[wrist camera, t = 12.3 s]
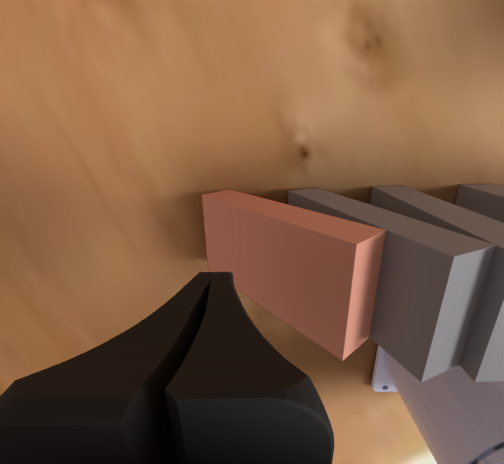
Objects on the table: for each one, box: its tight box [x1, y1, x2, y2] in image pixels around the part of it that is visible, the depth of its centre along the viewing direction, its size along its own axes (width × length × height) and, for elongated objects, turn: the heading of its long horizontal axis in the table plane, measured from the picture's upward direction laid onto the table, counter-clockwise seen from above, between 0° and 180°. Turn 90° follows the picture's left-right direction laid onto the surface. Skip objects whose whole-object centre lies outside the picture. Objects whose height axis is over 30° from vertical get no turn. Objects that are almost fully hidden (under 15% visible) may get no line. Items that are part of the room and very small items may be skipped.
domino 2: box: [370, 186, 504, 382], centre depth 14 cm, size 2×5×10 cm, turn 1°
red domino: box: [202, 189, 386, 361], centre depth 14 cm, size 2×5×10 cm
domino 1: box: [288, 187, 497, 383], centre depth 14 cm, size 2×5×10 cm, turn 1°
